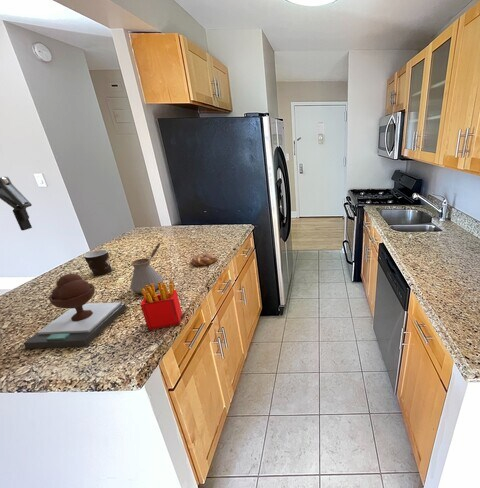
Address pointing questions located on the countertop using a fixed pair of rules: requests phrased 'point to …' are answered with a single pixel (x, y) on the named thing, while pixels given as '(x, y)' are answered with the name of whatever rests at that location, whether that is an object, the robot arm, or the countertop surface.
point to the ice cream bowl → (73, 295)
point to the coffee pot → (144, 274)
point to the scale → (76, 327)
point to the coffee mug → (98, 262)
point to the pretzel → (203, 259)
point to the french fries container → (161, 306)
